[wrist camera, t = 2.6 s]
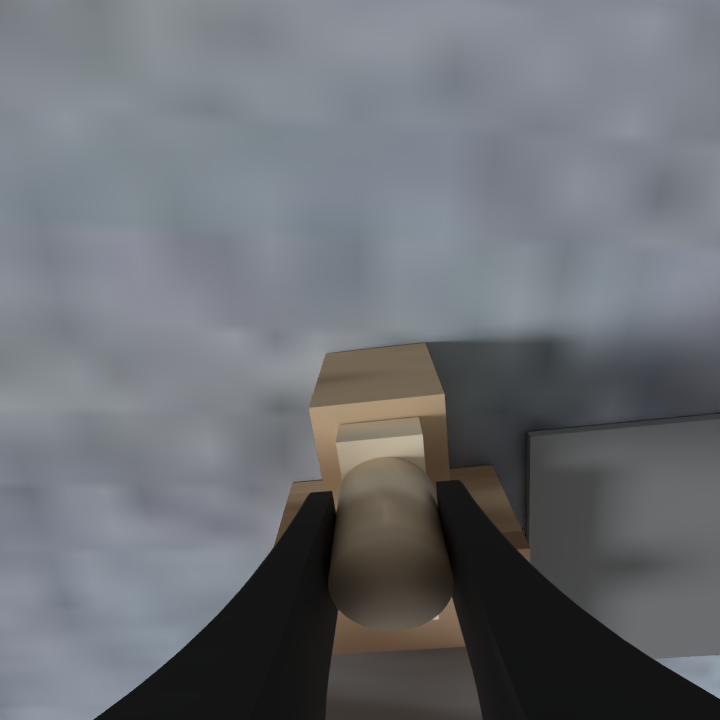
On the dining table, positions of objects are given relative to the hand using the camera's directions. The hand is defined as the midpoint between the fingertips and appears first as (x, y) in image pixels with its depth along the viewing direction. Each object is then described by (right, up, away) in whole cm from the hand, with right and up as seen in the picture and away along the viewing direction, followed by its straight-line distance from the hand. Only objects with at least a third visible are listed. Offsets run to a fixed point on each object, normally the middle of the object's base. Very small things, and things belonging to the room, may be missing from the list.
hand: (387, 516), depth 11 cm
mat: (+13, -5, +8) cm, 16 cm away
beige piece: (0, -1, +2) cm, 2 cm away
